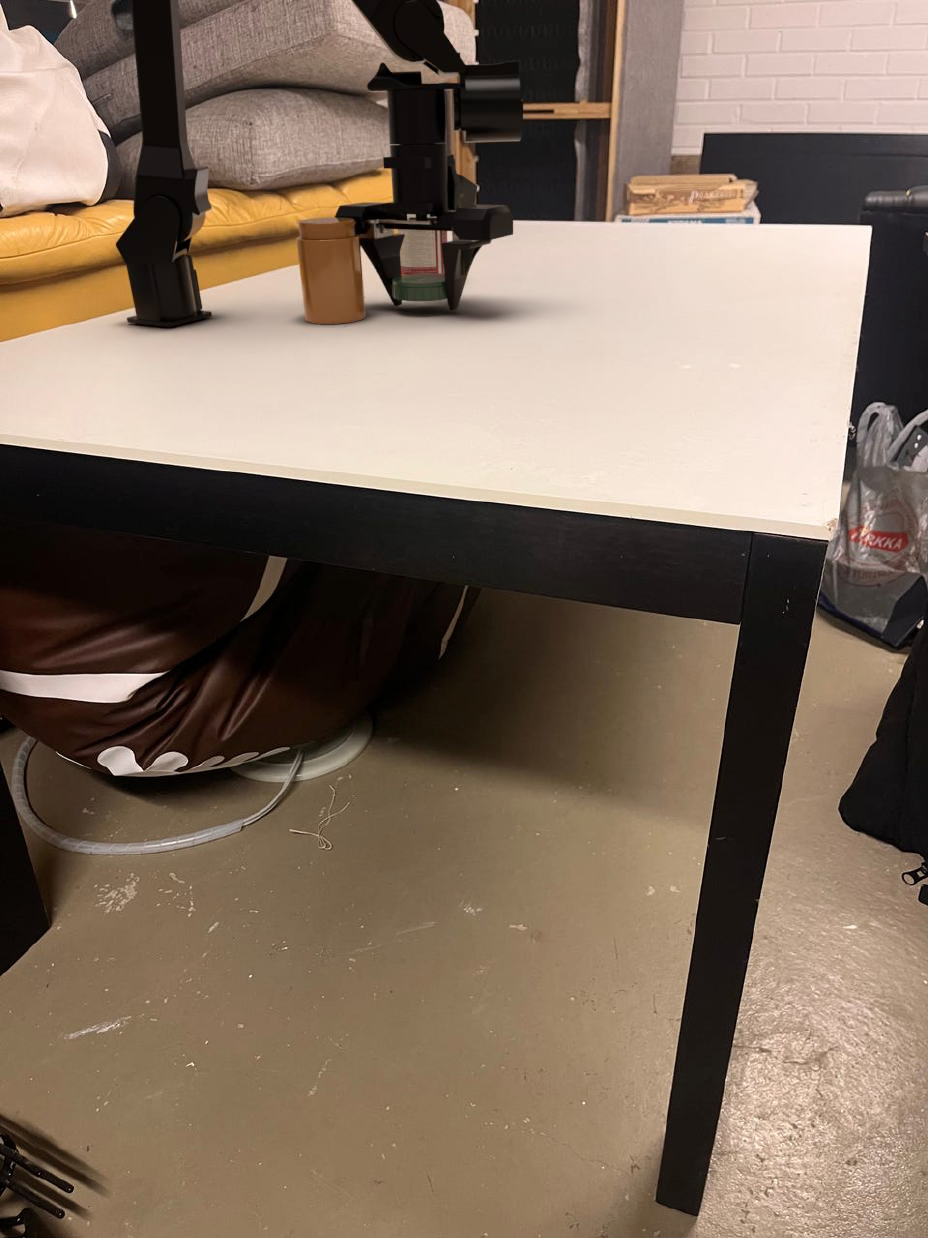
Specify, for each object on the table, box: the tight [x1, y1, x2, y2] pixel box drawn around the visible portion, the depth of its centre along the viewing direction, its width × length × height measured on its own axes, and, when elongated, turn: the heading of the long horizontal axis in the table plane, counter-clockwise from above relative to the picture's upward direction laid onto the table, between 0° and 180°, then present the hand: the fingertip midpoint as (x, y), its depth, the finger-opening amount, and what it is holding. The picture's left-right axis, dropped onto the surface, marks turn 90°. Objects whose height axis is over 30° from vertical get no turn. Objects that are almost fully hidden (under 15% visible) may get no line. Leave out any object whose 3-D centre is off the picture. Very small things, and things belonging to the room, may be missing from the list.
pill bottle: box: [397, 214, 448, 276], centre depth 109 cm, size 6×6×11 cm
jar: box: [295, 217, 367, 325], centre depth 90 cm, size 6×6×10 cm
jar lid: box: [392, 273, 447, 302], centre depth 94 cm, size 7×7×2 cm
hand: (425, 307), depth 95 cm, fingers closed on jar lid, 7 cm apart
